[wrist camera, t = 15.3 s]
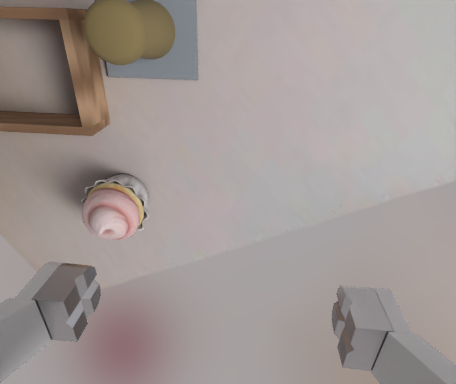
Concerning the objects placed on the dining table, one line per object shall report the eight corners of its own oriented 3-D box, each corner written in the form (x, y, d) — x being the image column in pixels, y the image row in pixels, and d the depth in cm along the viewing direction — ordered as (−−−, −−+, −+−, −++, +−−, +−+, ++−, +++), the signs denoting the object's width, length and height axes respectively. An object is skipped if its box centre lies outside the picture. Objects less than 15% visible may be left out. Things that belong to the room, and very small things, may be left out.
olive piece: (114, 40, 35) (62, 47, 26) (134, -14, 33) (83, -29, 23) (162, 69, 36) (129, 86, 27) (184, 19, 34) (157, 17, 24)
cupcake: (116, 224, 49) (85, 268, 40) (86, 173, 45) (44, 210, 36) (169, 211, 47) (148, 254, 38) (142, 156, 43) (112, 191, 34)
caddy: (-59, 6, 36) (-104, 4, 31) (90, 9, 34) (66, 8, 30) (-18, 117, 42) (-50, 128, 38) (110, 123, 41) (92, 135, 36)
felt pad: (92, -35, 32) (90, -35, 32) (195, -33, 32) (194, -34, 31) (109, 76, 38) (108, 76, 37) (198, 79, 37) (197, 79, 37)
